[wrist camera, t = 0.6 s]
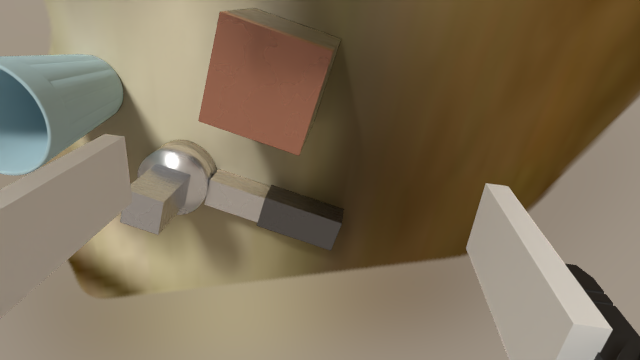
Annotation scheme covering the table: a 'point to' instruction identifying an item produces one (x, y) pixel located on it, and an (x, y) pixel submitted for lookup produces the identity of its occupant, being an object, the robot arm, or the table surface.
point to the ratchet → (222, 197)
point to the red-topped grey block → (266, 77)
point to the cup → (51, 106)
